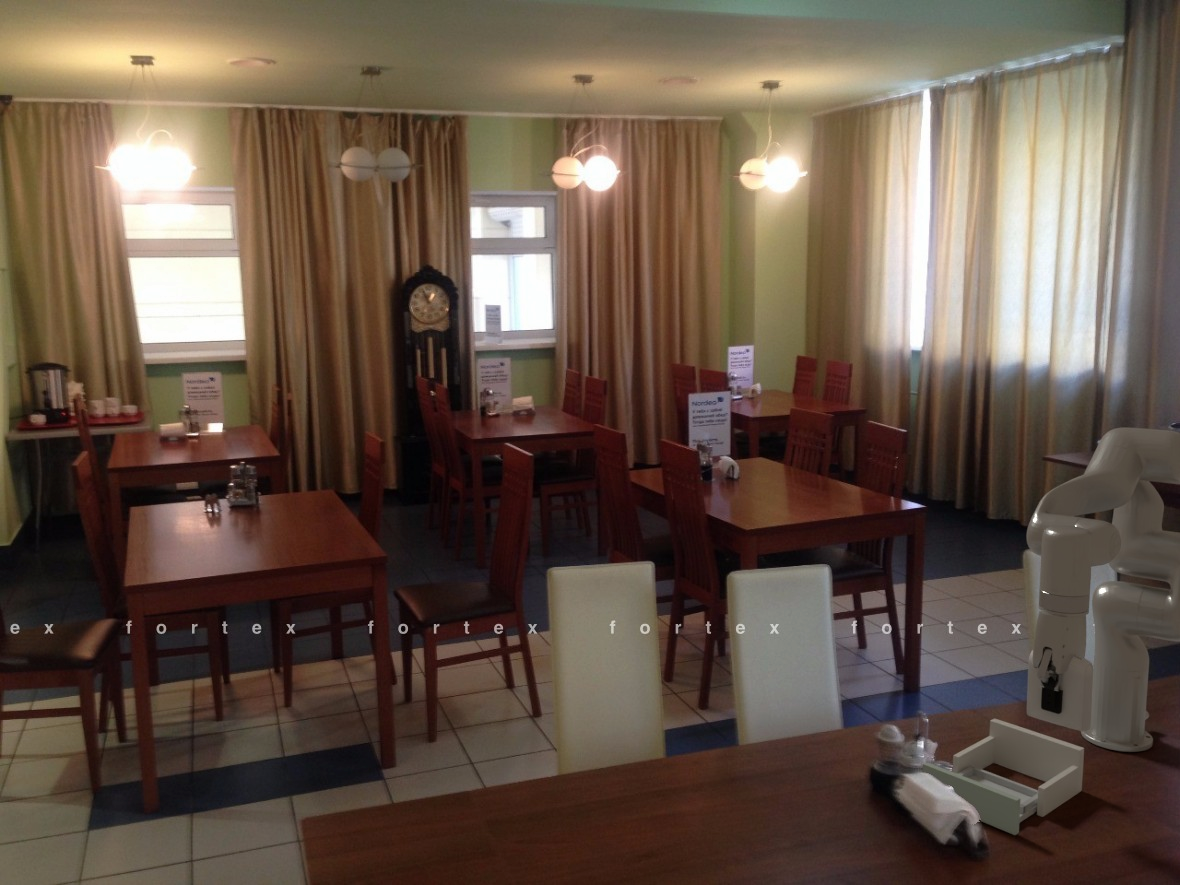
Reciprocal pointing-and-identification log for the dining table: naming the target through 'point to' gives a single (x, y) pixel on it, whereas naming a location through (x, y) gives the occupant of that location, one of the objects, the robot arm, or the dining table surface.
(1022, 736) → the dock
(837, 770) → the dining table surface
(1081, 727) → the photo printer
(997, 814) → the tray
